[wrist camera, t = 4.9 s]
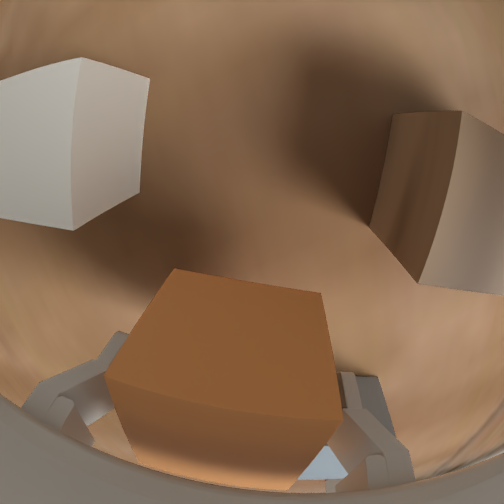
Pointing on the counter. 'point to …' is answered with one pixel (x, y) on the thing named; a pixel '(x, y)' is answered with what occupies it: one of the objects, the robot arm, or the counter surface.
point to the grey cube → (70, 142)
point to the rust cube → (228, 381)
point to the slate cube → (370, 400)
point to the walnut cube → (444, 200)
